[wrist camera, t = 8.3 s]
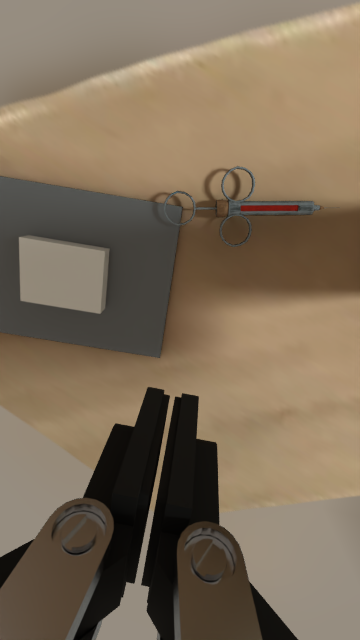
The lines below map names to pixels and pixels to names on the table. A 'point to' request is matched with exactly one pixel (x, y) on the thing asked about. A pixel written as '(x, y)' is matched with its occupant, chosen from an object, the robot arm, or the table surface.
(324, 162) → the table surface
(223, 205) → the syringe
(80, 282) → the tile
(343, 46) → the table surface
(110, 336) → the mat
